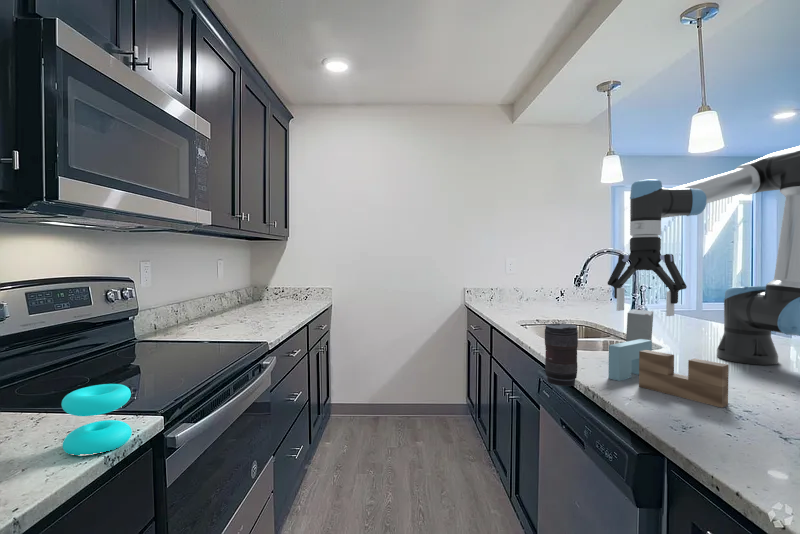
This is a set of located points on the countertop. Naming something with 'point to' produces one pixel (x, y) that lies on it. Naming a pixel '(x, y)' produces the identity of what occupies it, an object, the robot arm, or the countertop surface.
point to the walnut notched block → (685, 378)
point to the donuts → (101, 432)
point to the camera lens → (561, 353)
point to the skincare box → (639, 325)
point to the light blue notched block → (626, 358)
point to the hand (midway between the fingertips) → (644, 313)
